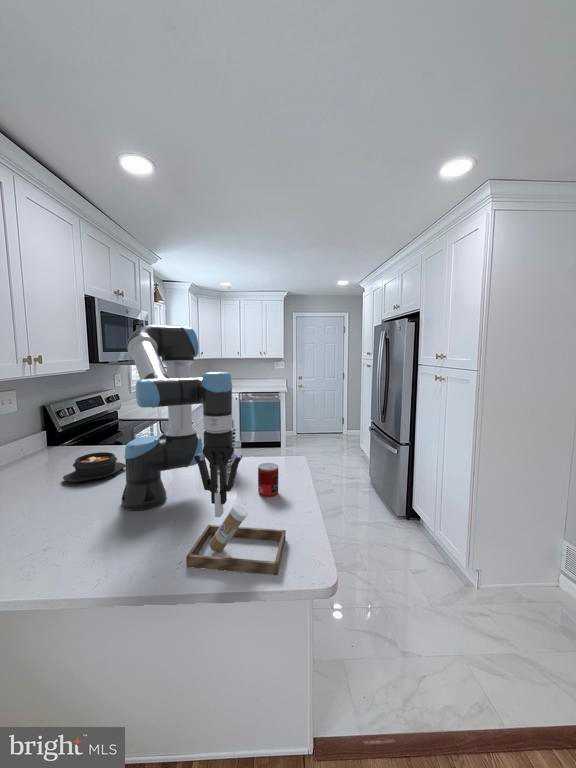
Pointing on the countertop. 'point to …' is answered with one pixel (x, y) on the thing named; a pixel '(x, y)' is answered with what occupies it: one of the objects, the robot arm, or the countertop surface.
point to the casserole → (94, 467)
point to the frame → (236, 563)
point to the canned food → (268, 479)
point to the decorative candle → (229, 463)
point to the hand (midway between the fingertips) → (219, 514)
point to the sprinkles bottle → (228, 528)
